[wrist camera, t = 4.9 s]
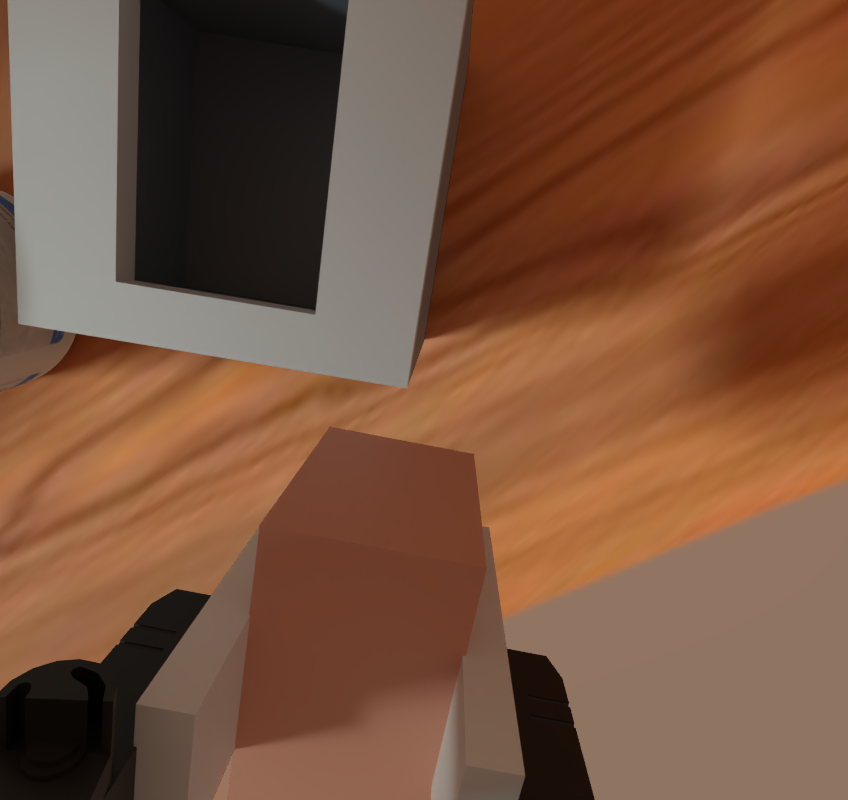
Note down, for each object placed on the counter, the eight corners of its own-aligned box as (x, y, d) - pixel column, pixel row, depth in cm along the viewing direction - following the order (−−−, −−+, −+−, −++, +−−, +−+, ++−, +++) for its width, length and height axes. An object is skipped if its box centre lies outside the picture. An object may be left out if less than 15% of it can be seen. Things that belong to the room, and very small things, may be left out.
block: (428, 662, 15) (416, 860, 10) (299, 637, 15) (224, 824, 10) (473, 453, 13) (486, 568, 8) (330, 426, 13) (259, 525, 8)
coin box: (177, 299, 26) (18, 323, 17) (189, 15, 23) (2, -155, 14) (424, 339, 26) (407, 388, 17) (468, 60, 23) (479, -80, 14)
